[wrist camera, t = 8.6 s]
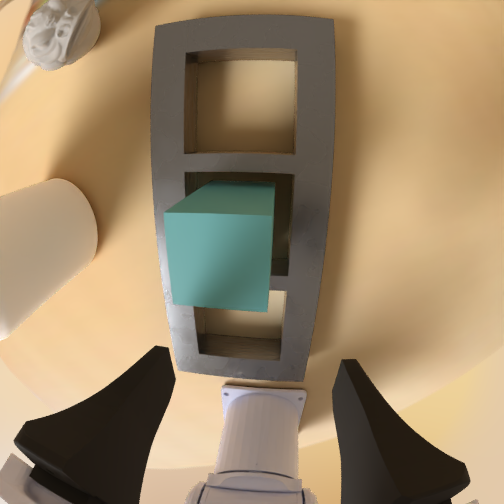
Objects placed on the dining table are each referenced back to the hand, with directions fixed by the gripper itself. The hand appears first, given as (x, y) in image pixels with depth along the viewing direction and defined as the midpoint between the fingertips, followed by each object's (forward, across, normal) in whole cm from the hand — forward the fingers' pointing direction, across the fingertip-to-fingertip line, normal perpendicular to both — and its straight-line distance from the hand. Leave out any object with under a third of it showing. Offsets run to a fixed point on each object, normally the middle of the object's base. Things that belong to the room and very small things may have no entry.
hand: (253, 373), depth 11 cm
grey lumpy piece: (+10, +14, -18) cm, 25 cm away
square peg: (+9, +2, -4) cm, 10 cm away
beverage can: (+10, +17, -3) cm, 19 cm away
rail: (+9, +2, -4) cm, 10 cm away
